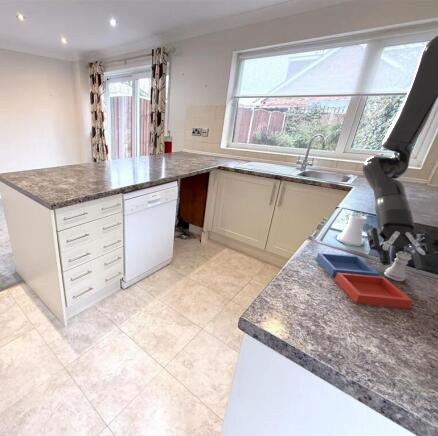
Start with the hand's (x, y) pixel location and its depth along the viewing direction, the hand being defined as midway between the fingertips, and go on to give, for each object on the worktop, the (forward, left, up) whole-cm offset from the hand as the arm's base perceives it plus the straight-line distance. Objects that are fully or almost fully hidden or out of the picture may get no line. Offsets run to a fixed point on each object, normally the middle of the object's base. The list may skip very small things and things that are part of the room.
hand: (403, 267), depth 68 cm
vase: (-1, -24, -5) cm, 25 cm away
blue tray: (+12, -3, -4) cm, 13 cm away
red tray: (+12, +8, -4) cm, 15 cm away
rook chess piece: (0, -1, -5) cm, 5 cm away
